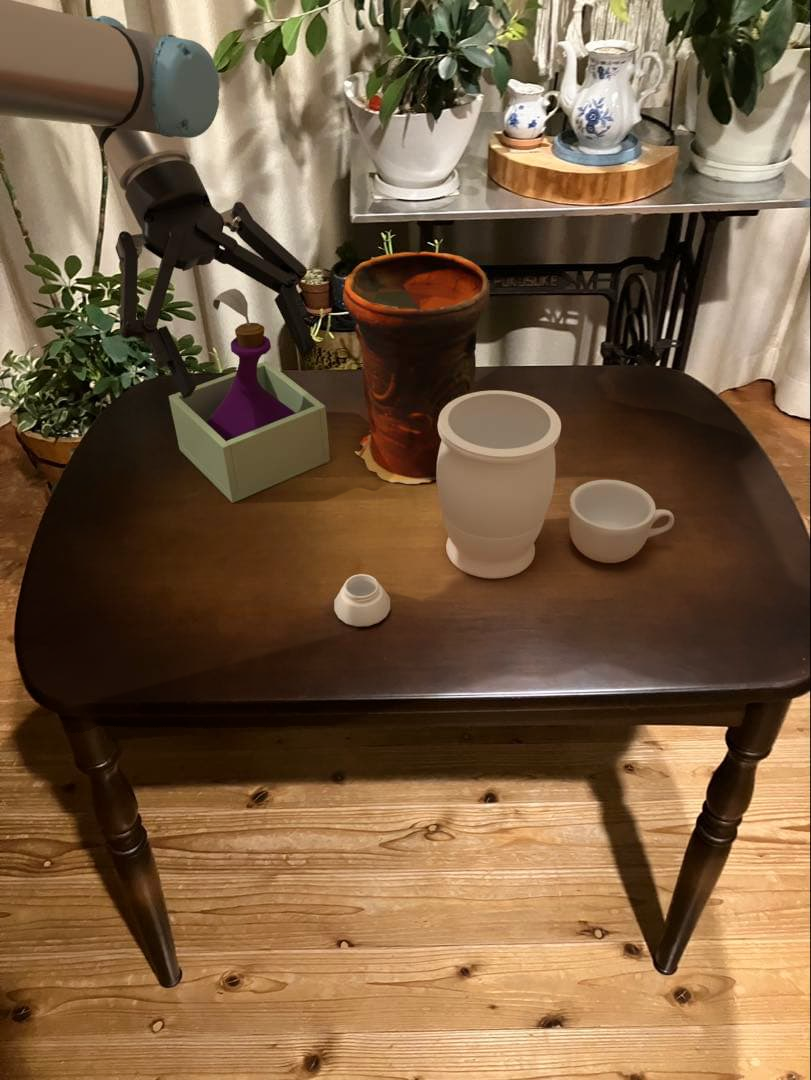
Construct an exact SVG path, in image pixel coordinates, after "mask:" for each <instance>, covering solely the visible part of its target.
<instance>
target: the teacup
mask: <svg viewBox="0 0 811 1080" xmlns="http://www.w3.org/2000/svg"><path fill="white" fill-rule="evenodd" d="M568 509H569V510H568V529H569V534H570V538H571V540H572V543H573V545H574V546H575V548H576V549H577V550H578V551H579V552H580V553H581V554H582V555H584V557H587V558H588V559H590V560H592V561H595V562H598V563H604V564H616V563H622V562H624V561H627V560H629V559H630V558H633V557H635V555H637V553H639V551H640V550H641V549H642V548H643V547H644V545H645V544H646V542H647V540H648V539H649V538H652V537H654V536H658V535H661V534H663V533H665V532H667V531H669V530H671V529H672V527H673V526H674V523H675V516H674V513H672V512H671V511H670V510H668V509H661V508H660V509H657V508H656V502H655V501H654V499H653V497H652V496H651V495H650V494H649V493H648V492H647V491H645V490H644V489H643V488H641V487H639V486H637V485H635V484H633V483H630V482H627V481H622V480H617V479H596V480H591V481H588V482H585V483H583V484H580V485H579V486H577V487H576V488H575V489H574V490H573V491H572V493H571V494H570V497H569V507H568ZM664 516H666V517H668V518H669V519H668V522H667V523H666V524H664V526H661V527H656V528H652V526H653V525H654V523H655V522H656V521H658V520H659V519H660V518H661V517H664Z"/></svg>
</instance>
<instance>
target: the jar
mask: <svg viewBox="0 0 811 1080" xmlns="http://www.w3.org/2000/svg"><path fill="white" fill-rule="evenodd" d="M561 430H562V422H561V418H560V416H559V415H558V413H557V412H556V410H555V409H553V407H551V406H550V405H549V404H547V403H546V402H544V401H543V400H540V399H538V398H536V397H534V396H531V395H528V394H524V393H522V392H521V393H520V392H516V391H510V390H496V389H495V390H482V391H474V392H473V393H470V394H467V395H464V396H461V397H459V398H456V399H455V400H453V401H451V402H450V403H448V404H447V405H446V406H445V407H444V408H443V409H442V411H441V413H440V415H439V419H438V432H439V435H440V438H441V439H442V441H441V444H440V448H439V453H438V460H437V470H436V479H435V480H436V491H437V497H438V498H437V499H438V501H439V506H440V513H441V521H442V523H443V527H444V529H445V532H446V534H447V536H448V537H447V540H446V542H445V543H446V544H445V545H446V546H445V549H446V554H447V556H448V558H449V560H450V561H451V563H452V564H453V565H454V566H455V567H457V569H459V570H461V571H462V572H464V573H466V574H469V575H470V576H474V577H477V578H483V579H504V578H509V577H512V576H515V575H517V574H520V573H522V572H523V571H525V569H527V568H528V567H529V566H530V565H531V564H532V563H533V560H534V558H535V555H536V546H535V544H534V543H535V542H536V541H537V538H538V537H539V535H540V533H541V530H543V529H542V528H543V526H544V523H545V519H546V516H547V512H548V510H549V507H550V504H551V501H552V497H553V494H554V488H555V483H556V482H555V481H556V452H555V446H556V445H557V443H558V442H559V440H560V436H561Z"/></svg>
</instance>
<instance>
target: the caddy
mask: <svg viewBox="0 0 811 1080" xmlns="http://www.w3.org/2000/svg"><path fill="white" fill-rule="evenodd" d="M236 373H237V371H234V372H232V373H231V372H230V373H229V374H226V375H223V376H220V377H217V378H215V379H212V380H209V381H206V382H203V383H200V384H198V385H195V386H196V389H195V390H194V392H193V393H192V395H191V396H190V397H187V398H184V399H183V397H182V395H181V393H180V391H179V392H176V393H173V394H170V395H168V400H169V405H170V409H171V410H170V411H171V416H172V419H173V424H174V429H175V433H176V438H177V444H178V449H179V451H180V452H181V453H182V454H183V455H184V456H185V457H186V458H187V459H188V460H189V461H190V462H191V463H192V464H193V465H194V466H195V467H196V468H197V469H198V470H199V471H200V472H201V473H202V474H203V475H204V476H205V478H207V479H208V480H209V481H210V482H211V483H212V484H213V485H214V486H215V487H216V488H217V489H218V490H219V491H220V492H221V493H222V494H223V495H224V497H226V498H227V499H228V501H230V502H231V503H232V504H234V503H236V502H238V501H241V500H243V499H246V498H247V497H250V496H252V495H254V494H257V493H259V492H262V491H263V490H266V489H269V488H271V487H273V486H275V485H277V484H280V483H282V482H285V481H287V480H289V479H291V478H294V477H296V476H300V475H301V474H303V473H306V472H308V471H310V470H312V469H315V468H317V467H319V466H322V465H324V464H326V463H329V462H331V455H330V444H329V431H328V419H327V406H326V405H325V404H323V403H322V402H320V401H319V400H318V399H317V398H316V397H315V396H313V395H312V394H311V393H309V392H308V391H306V390H305V389H304V388H303V387H301V386H300V385H299V384H298V383H296V382H295V381H293V380H292V379H291V378H290V377H288V376H287V375H286V374H284V373H283V372H282V371H281V370H280V369H278V368H277V367H275V366H274V365H273V364H272V363H270V362H269V361H268V360H265V361H262V362H258V364H257V379H258V382H259V383H260V385H261V387H262V388H263V389H264V390H266V391H267V392H268V393H270V394H271V395H272V396H273V397H275V398H276V399H277V400H279V401H280V402H281V403H283V404H284V405H286V406H287V407H289V408H290V409H291V410H293V411H294V412H296V414H293V415H291V416H288V417H286V418H283V419H281V420H278V421H276V422H273V423H271V424H268V425H266V426H263V427H261V428H258V429H256V430H253V431H251V432H248V433H246V434H243V435H241V436H238V437H236V438H233V439H230V440H228V441H227V442H226V441H225V440H224V439H223V438H222V437H221V436H220V435H219V434H218V433H217V432H215V431H214V430H213V429H212V428H211V427H210V426H209V425H208V424H207V422H208V420H209V419H210V418H211V416H212V415H213V414H214V413H215V411H216V410H217V409H218V407H219V406H220V405H221V403H222V401H223V400H224V398H225V397H226V395H227V393H228V392H229V390H230V388H231V386H232V384H233V382H234V380H235V376H236Z"/></svg>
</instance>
